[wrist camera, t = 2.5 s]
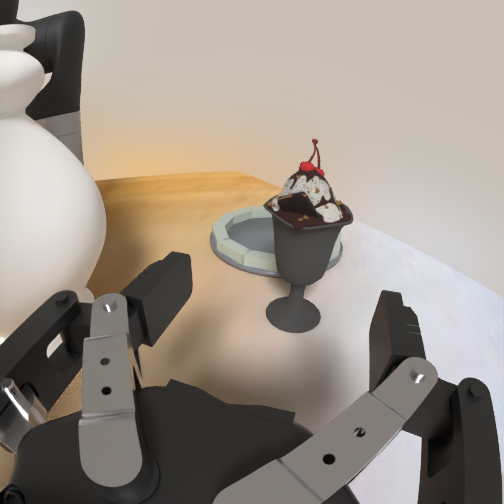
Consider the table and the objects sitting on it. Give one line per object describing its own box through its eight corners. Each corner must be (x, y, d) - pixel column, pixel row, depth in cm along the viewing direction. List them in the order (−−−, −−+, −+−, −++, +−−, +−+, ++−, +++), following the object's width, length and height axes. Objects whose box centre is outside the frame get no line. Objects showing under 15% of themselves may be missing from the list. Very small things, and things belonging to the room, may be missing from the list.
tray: (221, 285, 30) (221, 271, 30) (203, 219, 45) (203, 208, 44) (366, 269, 34) (369, 256, 34) (310, 213, 49) (311, 203, 48)
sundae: (304, 286, 31) (325, 136, 24) (343, 327, 26) (383, 154, 18) (244, 300, 29) (252, 134, 21) (277, 349, 23) (301, 150, 16)
